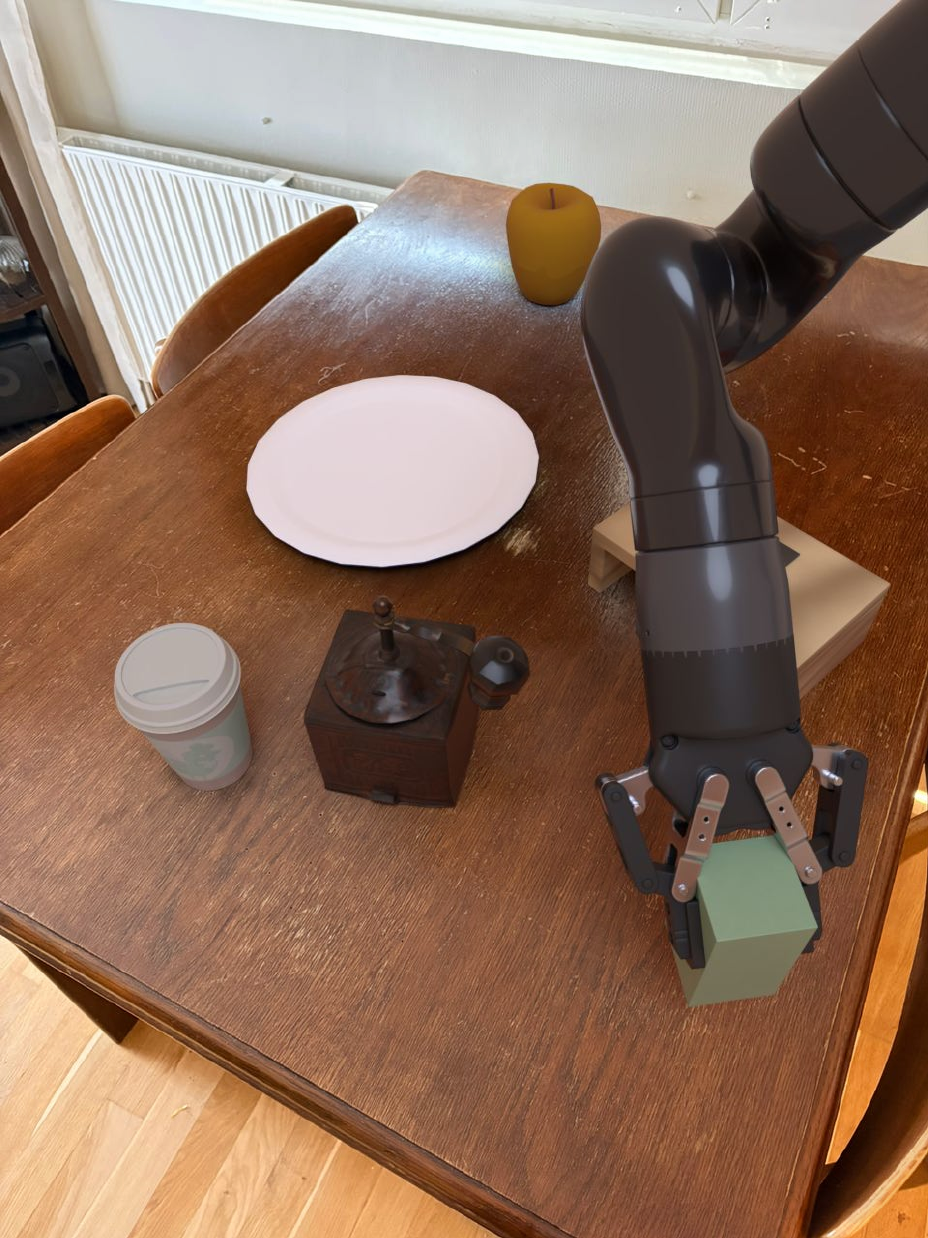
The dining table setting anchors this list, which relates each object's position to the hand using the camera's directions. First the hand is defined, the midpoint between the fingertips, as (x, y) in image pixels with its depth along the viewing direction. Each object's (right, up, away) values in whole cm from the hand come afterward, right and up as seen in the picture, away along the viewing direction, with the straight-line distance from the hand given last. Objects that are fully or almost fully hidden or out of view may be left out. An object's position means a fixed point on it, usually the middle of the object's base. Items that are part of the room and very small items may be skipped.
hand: (747, 953), depth 47 cm
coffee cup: (-34, +6, +23) cm, 41 cm away
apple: (-4, +58, +65) cm, 87 cm away
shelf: (+7, +18, +30) cm, 36 cm away
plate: (-22, +32, +44) cm, 59 cm away
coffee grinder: (-17, +7, +22) cm, 29 cm away
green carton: (0, -2, +5) cm, 6 cm away
